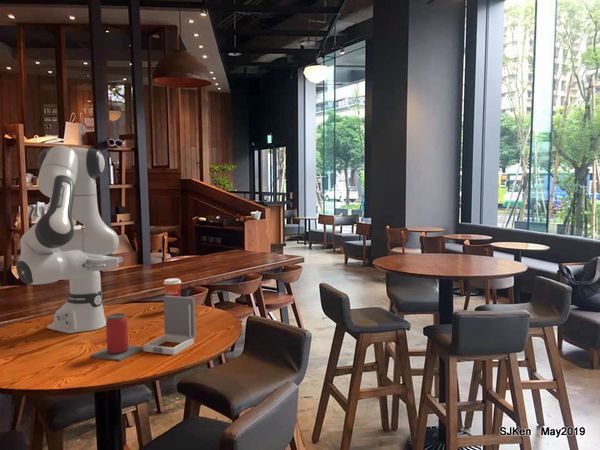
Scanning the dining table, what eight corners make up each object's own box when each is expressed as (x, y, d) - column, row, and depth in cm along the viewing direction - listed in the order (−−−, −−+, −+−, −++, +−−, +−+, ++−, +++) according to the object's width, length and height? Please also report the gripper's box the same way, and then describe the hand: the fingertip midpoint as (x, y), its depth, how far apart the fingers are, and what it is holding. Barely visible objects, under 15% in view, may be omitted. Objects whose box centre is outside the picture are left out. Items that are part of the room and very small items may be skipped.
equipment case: (141, 351, 156) (140, 304, 155) (167, 339, 170) (165, 295, 168) (172, 355, 152) (170, 307, 151) (195, 342, 166) (194, 297, 164)
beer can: (122, 355, 152) (120, 318, 151) (103, 354, 153) (101, 318, 152) (132, 348, 158) (130, 313, 157) (113, 347, 159) (112, 312, 158)
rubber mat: (90, 357, 152) (90, 355, 152) (116, 345, 163) (116, 343, 163) (120, 361, 148) (120, 359, 148) (144, 348, 159) (144, 347, 159)
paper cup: (161, 312, 207) (160, 281, 206) (168, 308, 215) (167, 277, 214) (177, 313, 206) (176, 281, 205) (185, 308, 214) (184, 278, 213)
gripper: (94, 257, 142) (132, 251, 154) (56, 251, 153) (94, 246, 165) (95, 277, 143) (133, 270, 154) (57, 270, 154) (95, 264, 165)
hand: (112, 257), depth 160 cm, fingers open, 8 cm apart
